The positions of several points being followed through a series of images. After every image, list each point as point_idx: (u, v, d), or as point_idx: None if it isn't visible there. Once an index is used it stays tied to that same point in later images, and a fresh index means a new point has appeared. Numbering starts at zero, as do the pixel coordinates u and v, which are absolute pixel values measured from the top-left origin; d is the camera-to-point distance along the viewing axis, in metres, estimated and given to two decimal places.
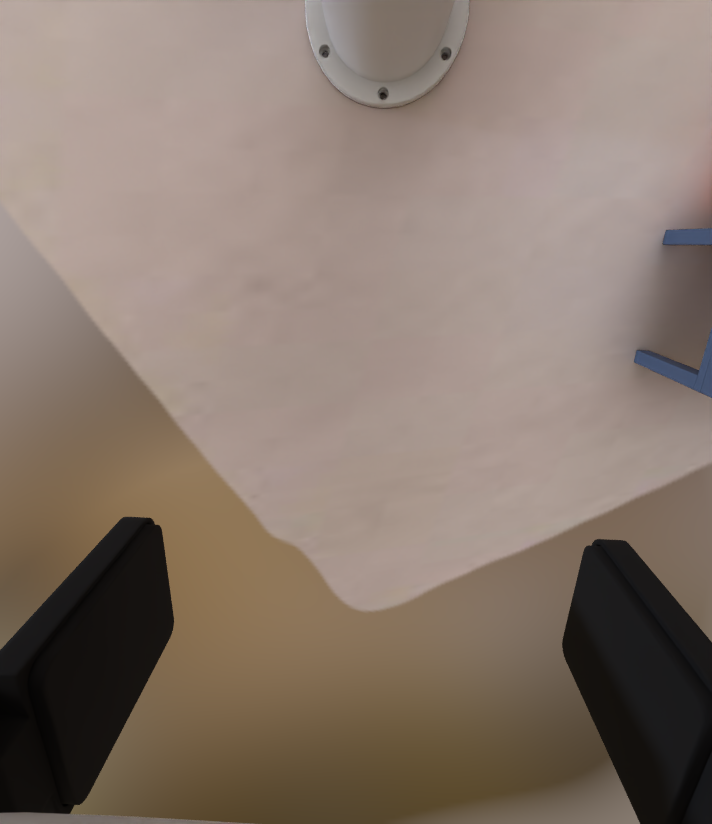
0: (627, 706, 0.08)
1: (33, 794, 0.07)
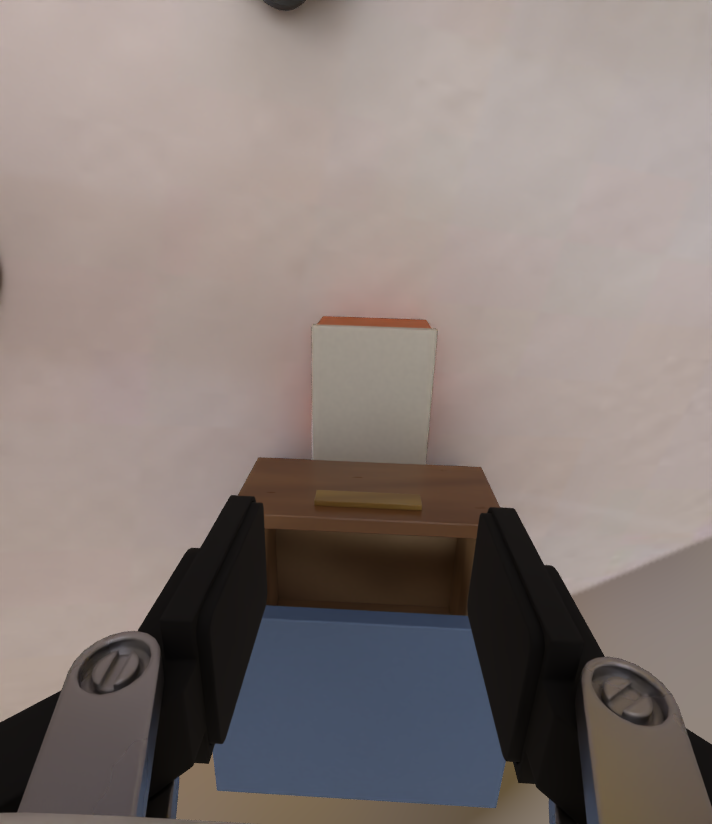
0: (496, 648, 0.09)
1: (197, 729, 0.07)
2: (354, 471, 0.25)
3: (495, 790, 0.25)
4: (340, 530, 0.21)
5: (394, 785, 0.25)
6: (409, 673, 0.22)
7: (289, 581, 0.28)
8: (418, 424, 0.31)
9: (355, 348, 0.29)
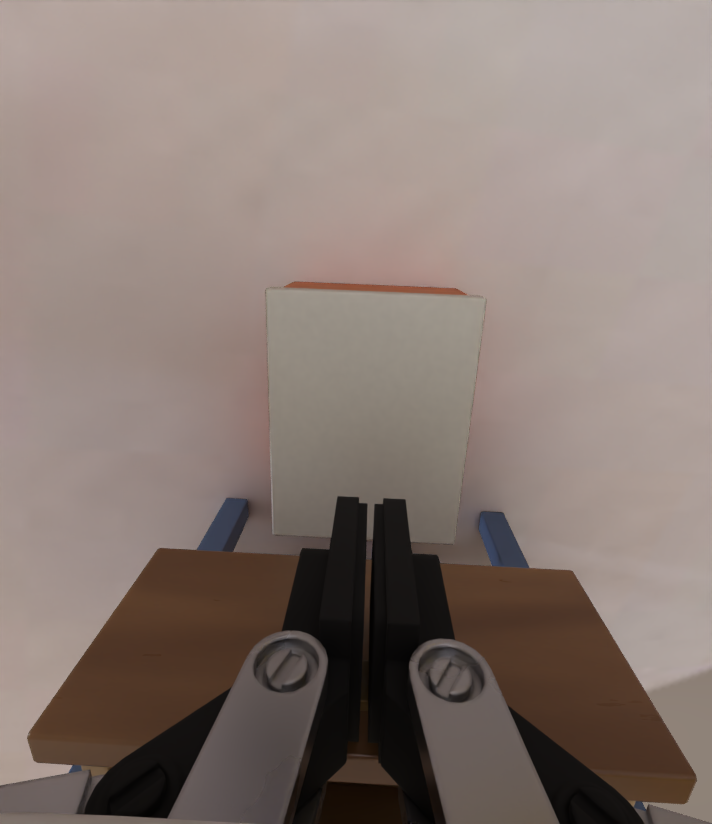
0: None
1: (347, 727, 0.08)
2: None
3: None
4: None
5: None
6: None
7: None
8: (447, 458, 0.18)
9: (343, 328, 0.17)
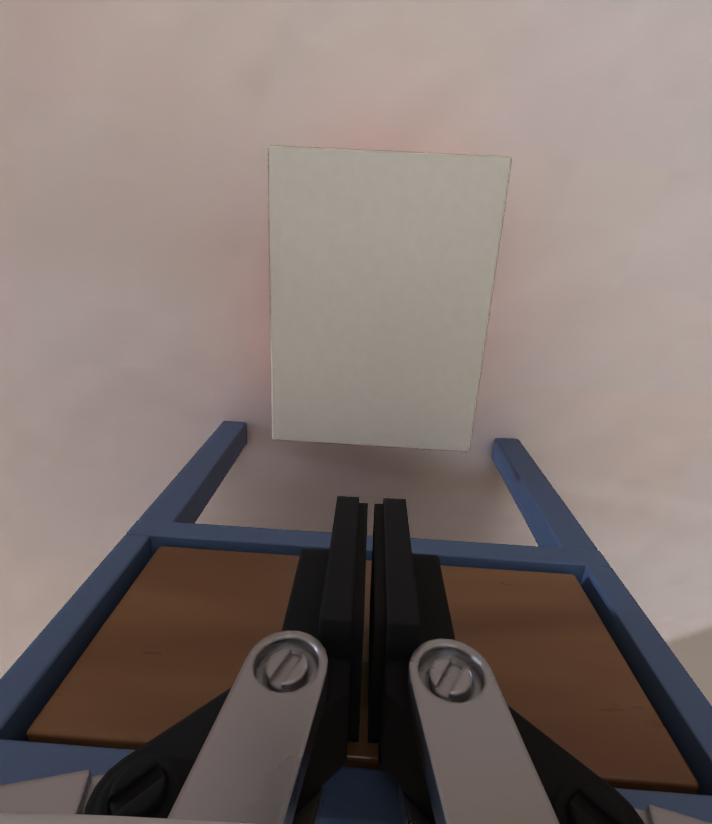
0: (370, 634, 0.09)
1: (347, 727, 0.08)
2: None
3: None
4: None
5: None
6: None
7: None
8: (464, 350, 0.17)
9: (352, 193, 0.15)
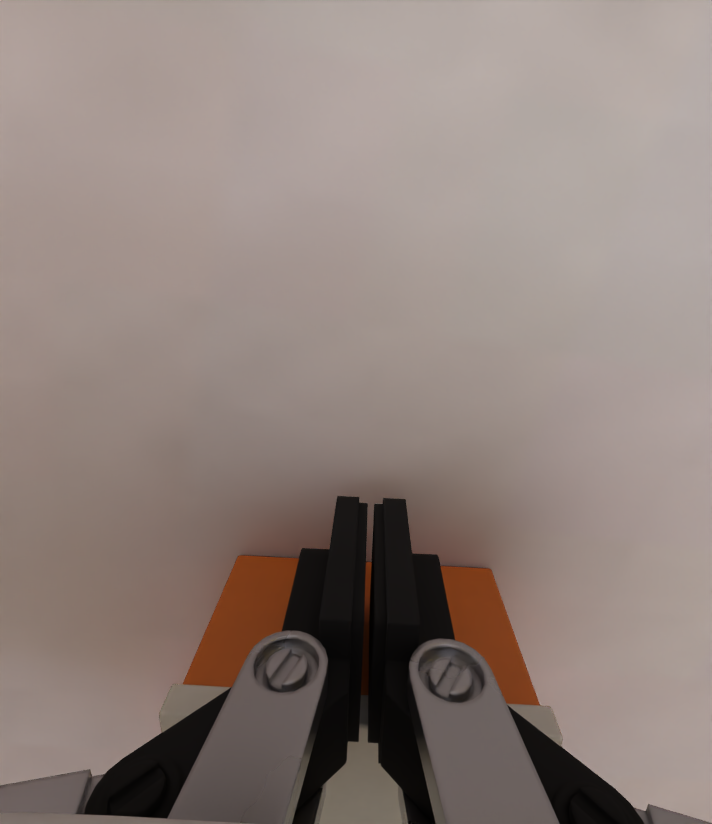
0: None
1: (347, 727, 0.08)
2: None
3: None
4: None
5: None
6: None
7: None
8: None
9: None
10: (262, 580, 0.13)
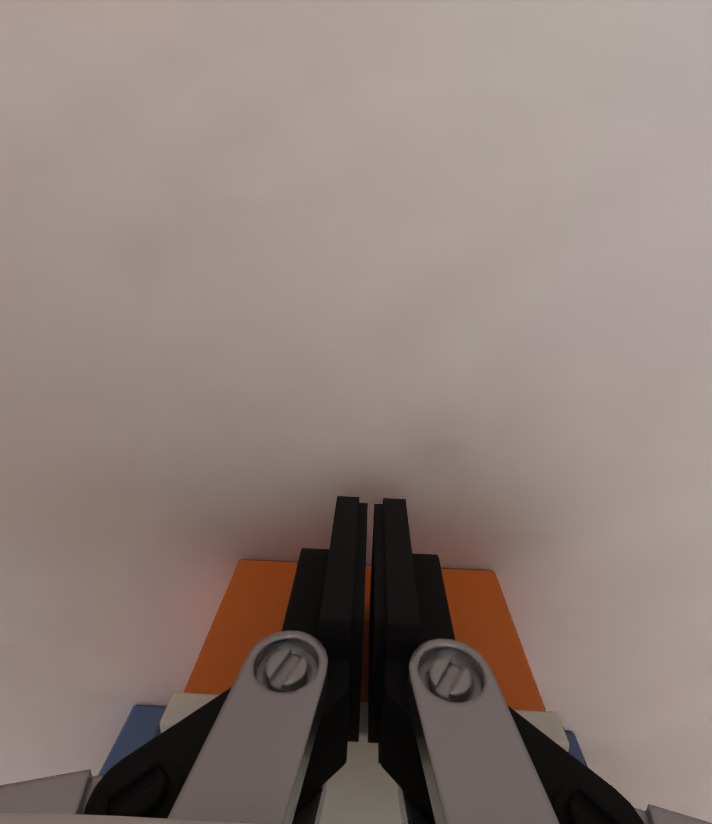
0: None
1: (347, 727, 0.08)
2: None
3: None
4: None
5: None
6: None
7: None
8: None
9: None
10: (264, 585, 0.13)
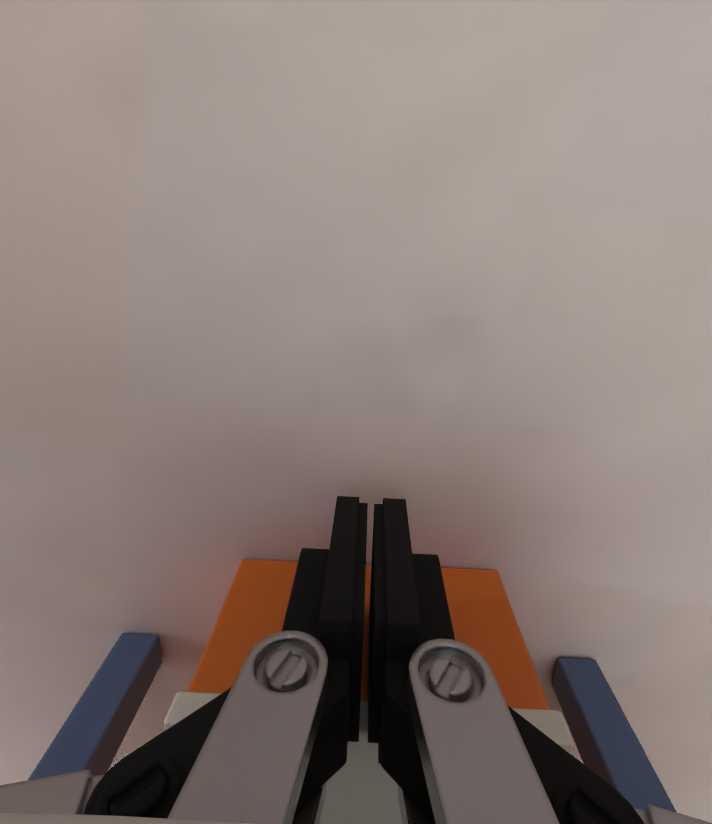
0: None
1: (347, 727, 0.08)
2: None
3: None
4: None
5: None
6: None
7: None
8: None
9: None
10: (266, 584, 0.13)
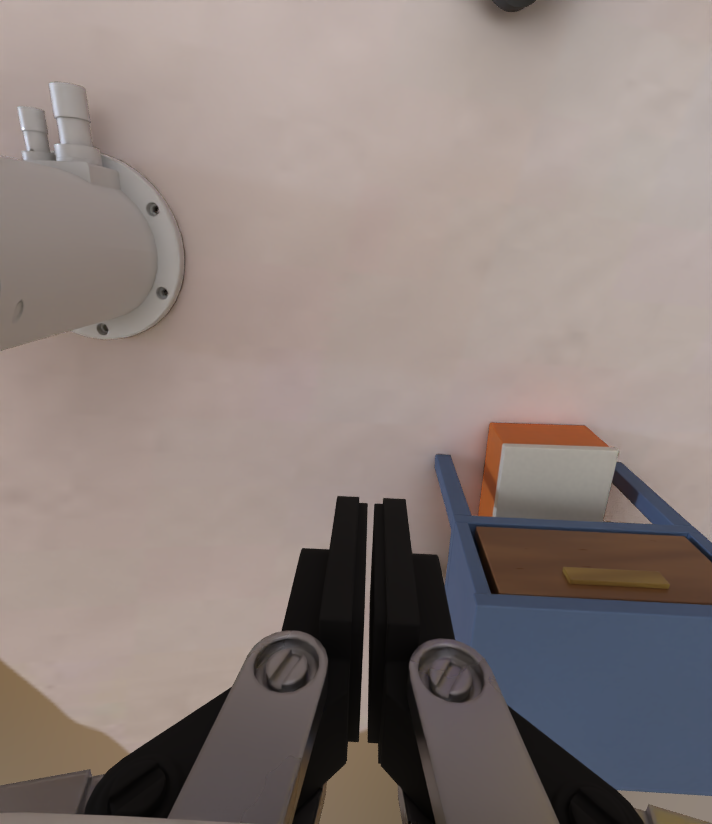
0: None
1: (347, 727, 0.08)
2: (575, 542, 0.27)
3: None
4: None
5: (631, 774, 0.25)
6: (675, 663, 0.23)
7: None
8: None
9: (542, 465, 0.32)
10: (505, 427, 0.36)
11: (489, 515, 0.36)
